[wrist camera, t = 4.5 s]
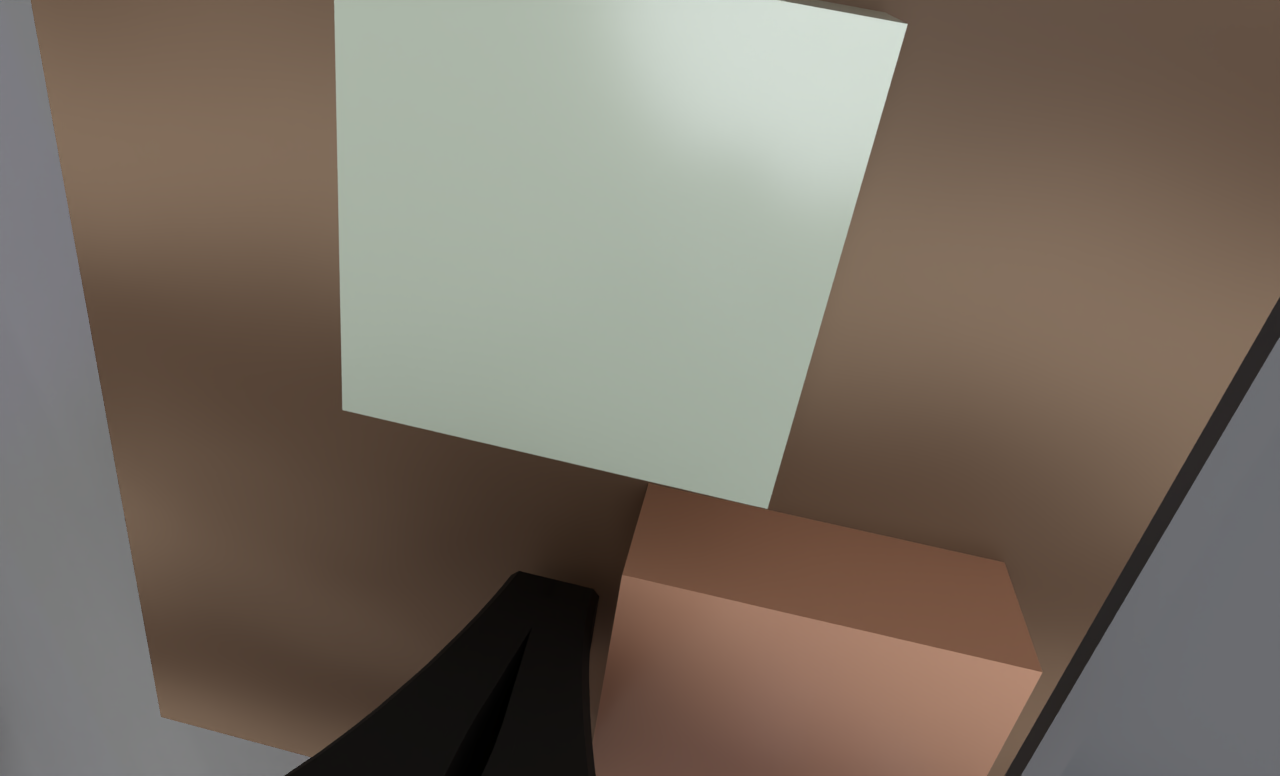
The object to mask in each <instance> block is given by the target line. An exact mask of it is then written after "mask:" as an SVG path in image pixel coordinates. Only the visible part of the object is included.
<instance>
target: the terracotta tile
mask: <svg viewBox="0 0 1280 776" xmlns="http://www.w3.org/2000/svg"><path fill="white" fill-rule="evenodd" d="M1042 673H1043V672H1042V669H1041V666H1040V663H1039V660H1038V657H1037V655H1036V652H1035V649H1034V646H1033V643H1032V640H1031V637H1030V634H1029V631H1028V629H1027V626H1026V623H1025V620H1024V617H1023V614H1022V611H1021V608H1020V606H1019V603H1018V600H1017V597H1016V594H1015V591H1014V588H1013V585H1012V582H1011V580H1010V577H1009V574H1008V571H1007V568H1006V565H1005V562H1000V561H996V560H991V559H987V558H982V557H978V556H973V555H969V554H964V553H960V552H955V551H951V550H946V549H942V548H937V547H933V546H928V545H924V544H920V543H915V542H911V541H906V540H902V539H897V538H893V537H888V536H884V535H879V534H875V533H870V532H866V531H861V530H857V529H852V528H848V527H843V526H839V525H834V524H830V523H825V522H821V521H816V520H812V519H807V518H803V517H798V516H794V515H789V514H785V513H780V512H776V511H771V510H767V509H762V508H758V507H753V506H749V505H745V504H740V503H736V502H731V501H727V500H722V499H718V498H713V497H709V496H704V495H700V494H695V493H691V492H686V491H682V490H677V489H673V488H668V487H664V486H659V485H655V484H650V483H649V484H648V487H647V491H646V494H645V497H644V501H643V504H642V508H641V511H640V515H639V518H638V522H637V525H636V529H635V532H634V535H633V539H632V542H631V546H630V549H629V553H628V556H627V560H626V563H625V567H624V570H623V573H622V578H621V584H620V590H619V595H618V601H617V607H616V612H615V618H614V624H613V629H612V635H611V641H610V646H609V652H608V658H607V663H606V669H605V675H604V680H603V686H602V692H601V697H600V703H599V709H598V715H597V720H596V726H595V732H594V737H593V743H592V744H593V754H594V764H595V773H596V776H987V775H988V773H989V771H990V769H991V767H992V765H993V764H994V762H995V760H996V758H997V756H998V754H999V752H1000V751H1001V749H1002V747H1003V745H1004V743H1005V741H1006V739H1007V738H1008V736H1009V734H1010V732H1011V730H1012V728H1013V726H1014V725H1015V723H1016V721H1017V719H1018V717H1019V715H1020V713H1021V712H1022V710H1023V708H1024V706H1025V704H1026V702H1027V700H1028V699H1029V697H1030V695H1031V693H1032V691H1033V689H1034V687H1035V686H1036V684H1037V682H1038V680H1039V678H1040V676H1041V674H1042Z"/></svg>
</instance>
